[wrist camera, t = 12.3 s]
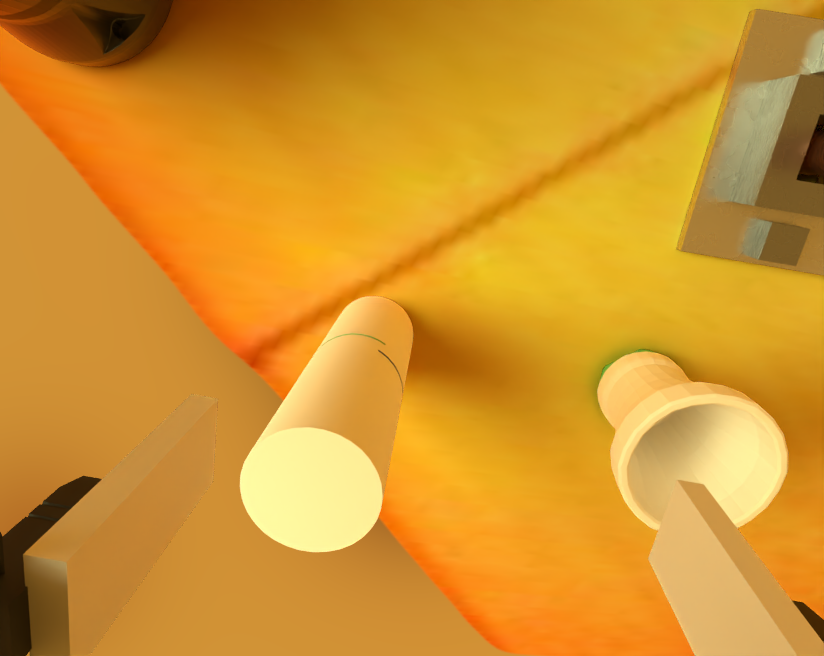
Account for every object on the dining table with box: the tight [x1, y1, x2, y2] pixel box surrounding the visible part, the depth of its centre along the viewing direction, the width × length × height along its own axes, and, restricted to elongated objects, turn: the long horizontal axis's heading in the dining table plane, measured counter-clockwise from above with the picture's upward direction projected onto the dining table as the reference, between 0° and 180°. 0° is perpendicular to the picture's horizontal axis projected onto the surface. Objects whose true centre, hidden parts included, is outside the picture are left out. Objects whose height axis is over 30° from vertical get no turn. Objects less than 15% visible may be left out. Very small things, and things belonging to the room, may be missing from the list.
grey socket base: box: [676, 9, 824, 275], centre depth 42 cm, size 14×18×5 cm
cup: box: [597, 349, 789, 530], centre depth 45 cm, size 11×11×14 cm
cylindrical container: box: [240, 296, 414, 552], centre depth 40 cm, size 7×7×25 cm
